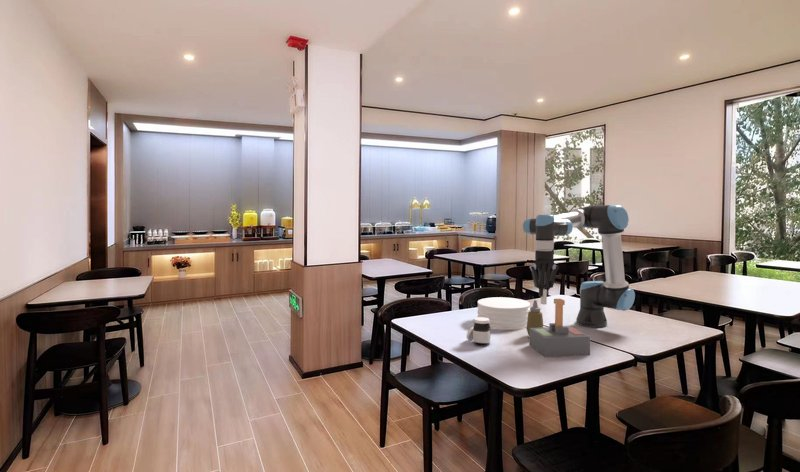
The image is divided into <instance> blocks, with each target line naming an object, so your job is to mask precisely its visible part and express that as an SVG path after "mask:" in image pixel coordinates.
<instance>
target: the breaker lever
mask: <svg viewBox="0 0 800 472" xmlns="http://www.w3.org/2000/svg"><path fill="white" fill-rule="evenodd" d="M553 304H554V305H555V306H554V310H555V311H554V313H555V314H554V321H555V322H554V323H555V327H561V326H563V325H564V323H563V322H564V318H563V317H564V316H563V315H564V306H565V305H566V300H565V299H562V298H553Z"/></svg>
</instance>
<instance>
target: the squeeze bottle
mask: <svg viewBox="0 0 800 472" xmlns="http://www.w3.org/2000/svg"><path fill="white" fill-rule="evenodd" d="M543 317H544V316H543V313H542V312H541V308H540V307H539V305H538V301H537V299H534V300H533V304H532V306H530V312H528V319H527V328H525V329H526V332H527V335H528V336H529V330H530V328H541V327H544V319H543Z"/></svg>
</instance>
